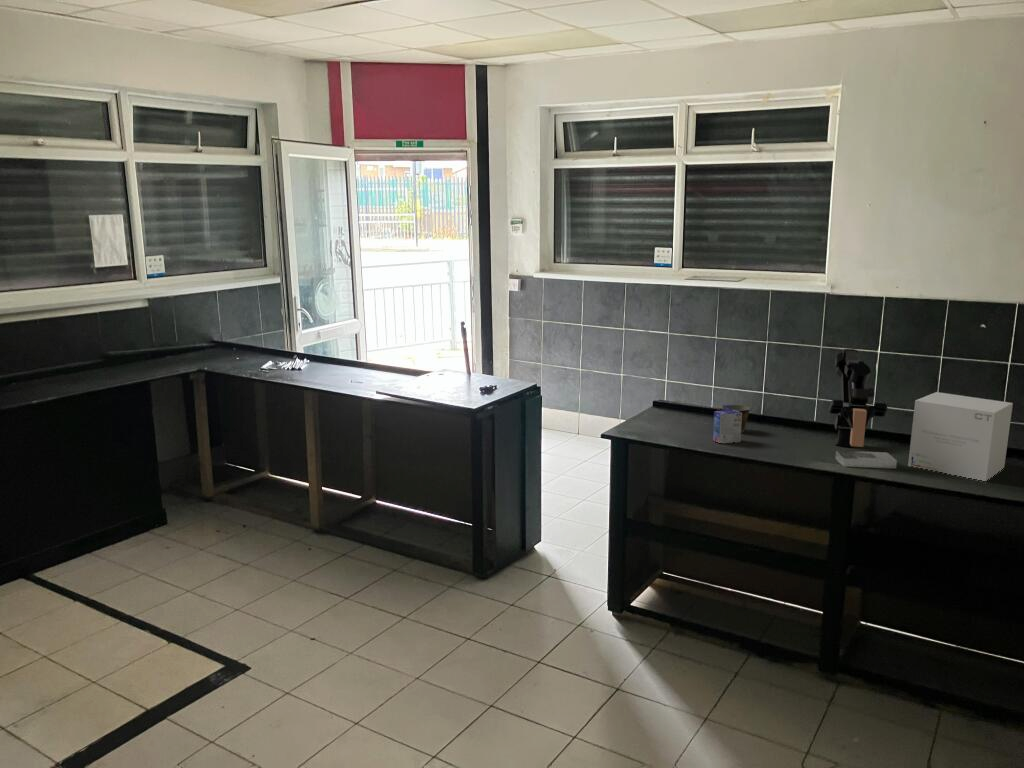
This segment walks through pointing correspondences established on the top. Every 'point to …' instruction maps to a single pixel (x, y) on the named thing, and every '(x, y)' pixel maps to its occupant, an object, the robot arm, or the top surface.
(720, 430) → the ink cartridge box
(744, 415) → the ceramic cup
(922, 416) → the white cardboard box
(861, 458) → the grey flat block
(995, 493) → the top surface
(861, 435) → the square peg
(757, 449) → the top surface
